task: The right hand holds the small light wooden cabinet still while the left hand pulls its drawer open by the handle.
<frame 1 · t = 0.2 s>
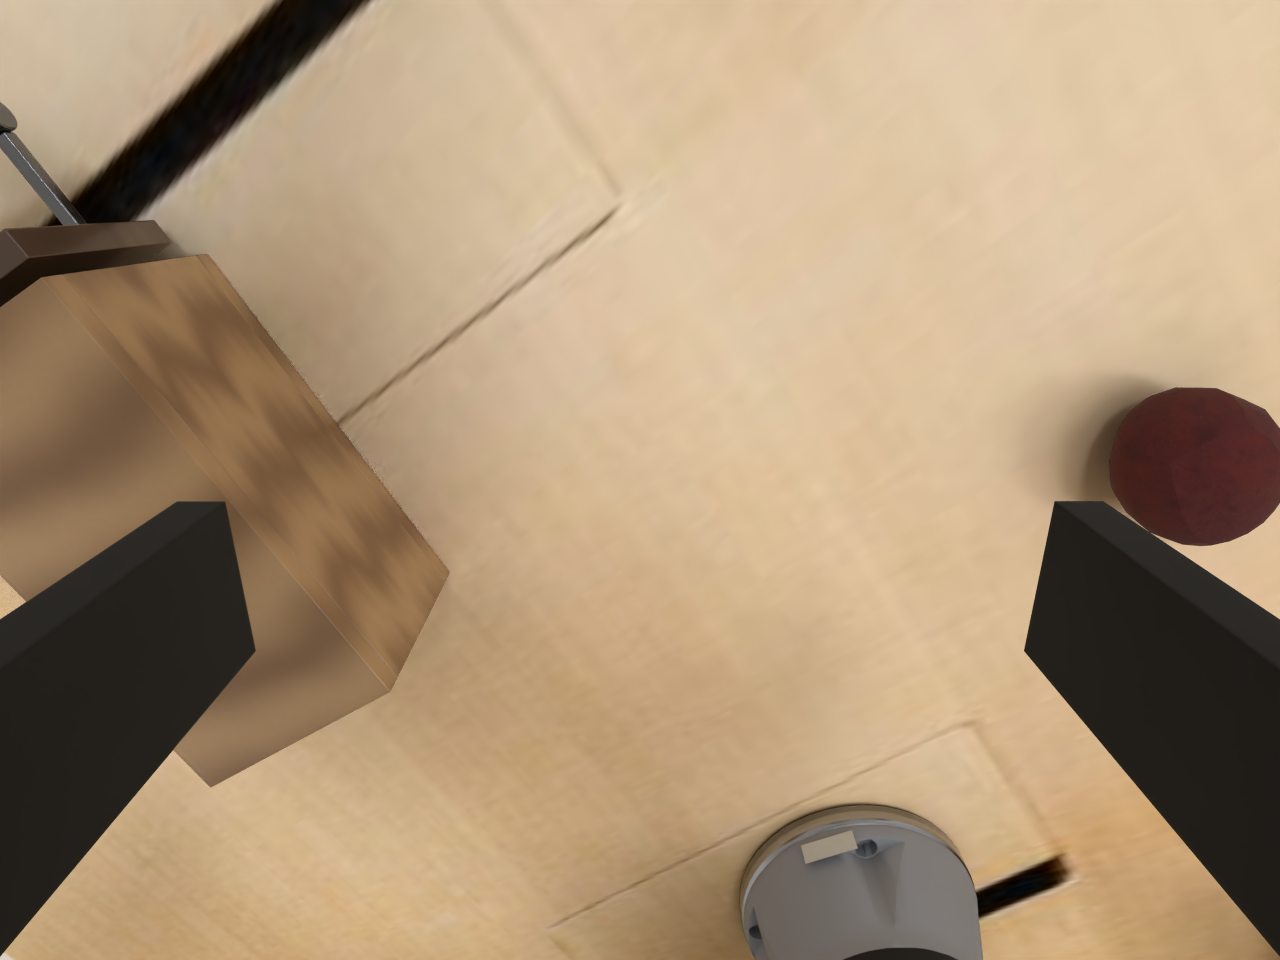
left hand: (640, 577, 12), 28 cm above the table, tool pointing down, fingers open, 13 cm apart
cabinet: (263, 471, 41), on the table
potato: (1148, 440, 41), on the table
drawer: (122, 409, 34), point 6 cm above the table, slide at 1.0 cm
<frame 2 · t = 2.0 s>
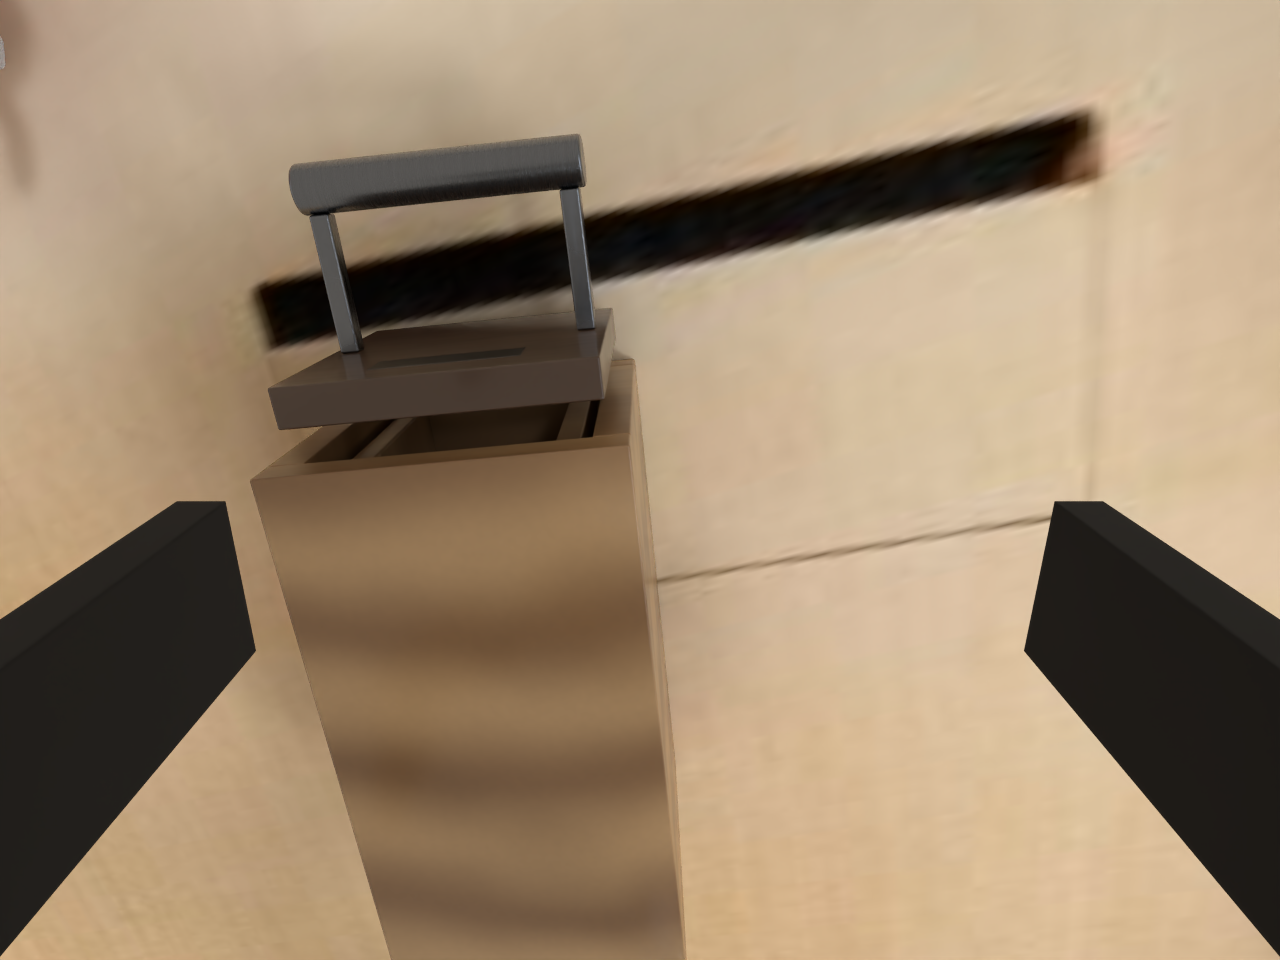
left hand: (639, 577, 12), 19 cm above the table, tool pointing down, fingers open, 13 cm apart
cabinet: (542, 592, 34), on the table
drawer: (500, 526, 27), point 6 cm above the table, slide at 1.0 cm
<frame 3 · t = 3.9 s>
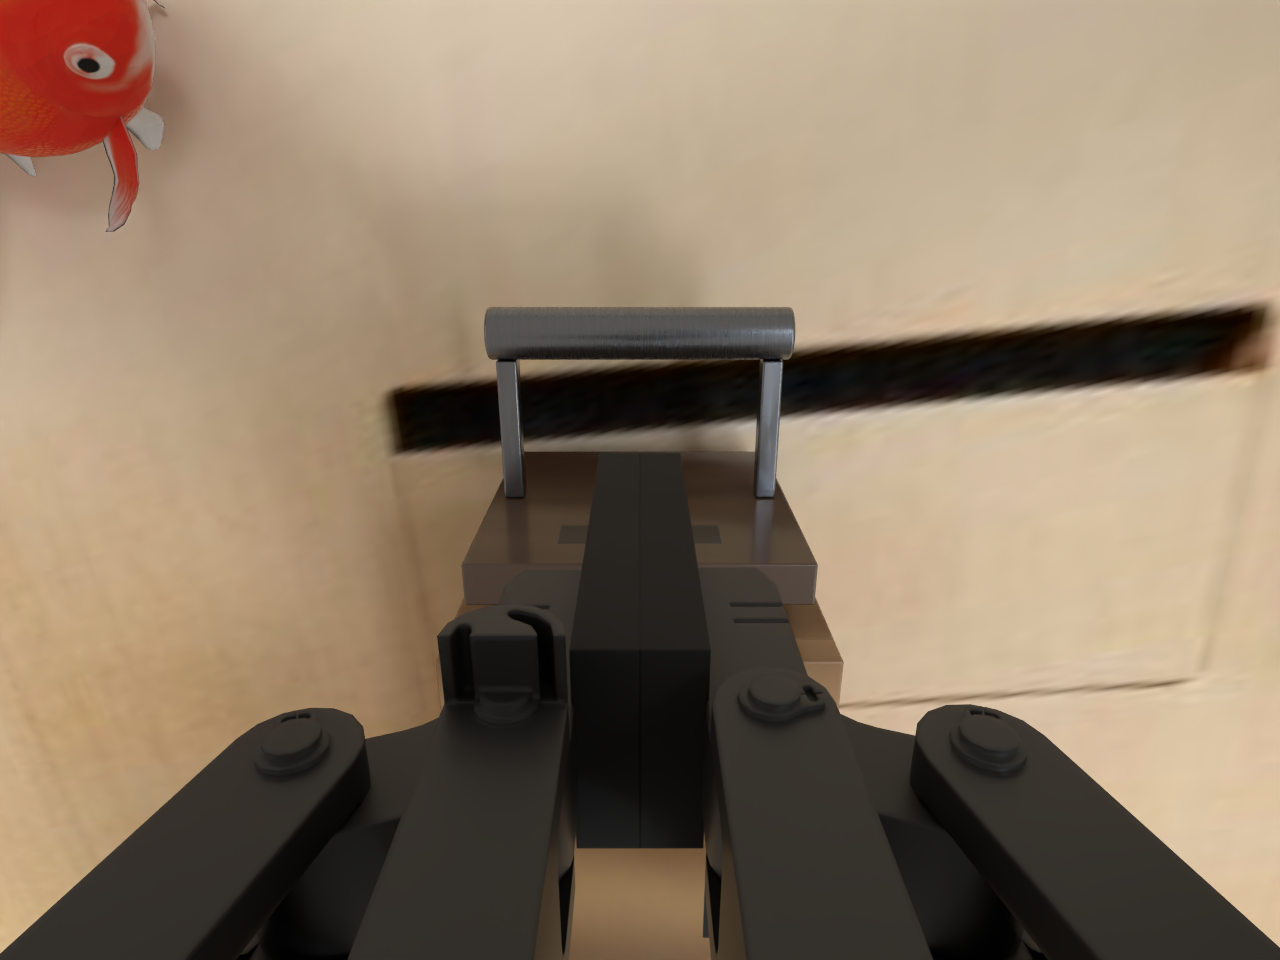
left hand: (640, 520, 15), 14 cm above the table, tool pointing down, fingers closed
fish: (33, 126, 25), on the table
cabinet: (639, 714, 33), on the table, touching right hand
drawer: (639, 678, 26), point 6 cm above the table, slide at 1.0 cm
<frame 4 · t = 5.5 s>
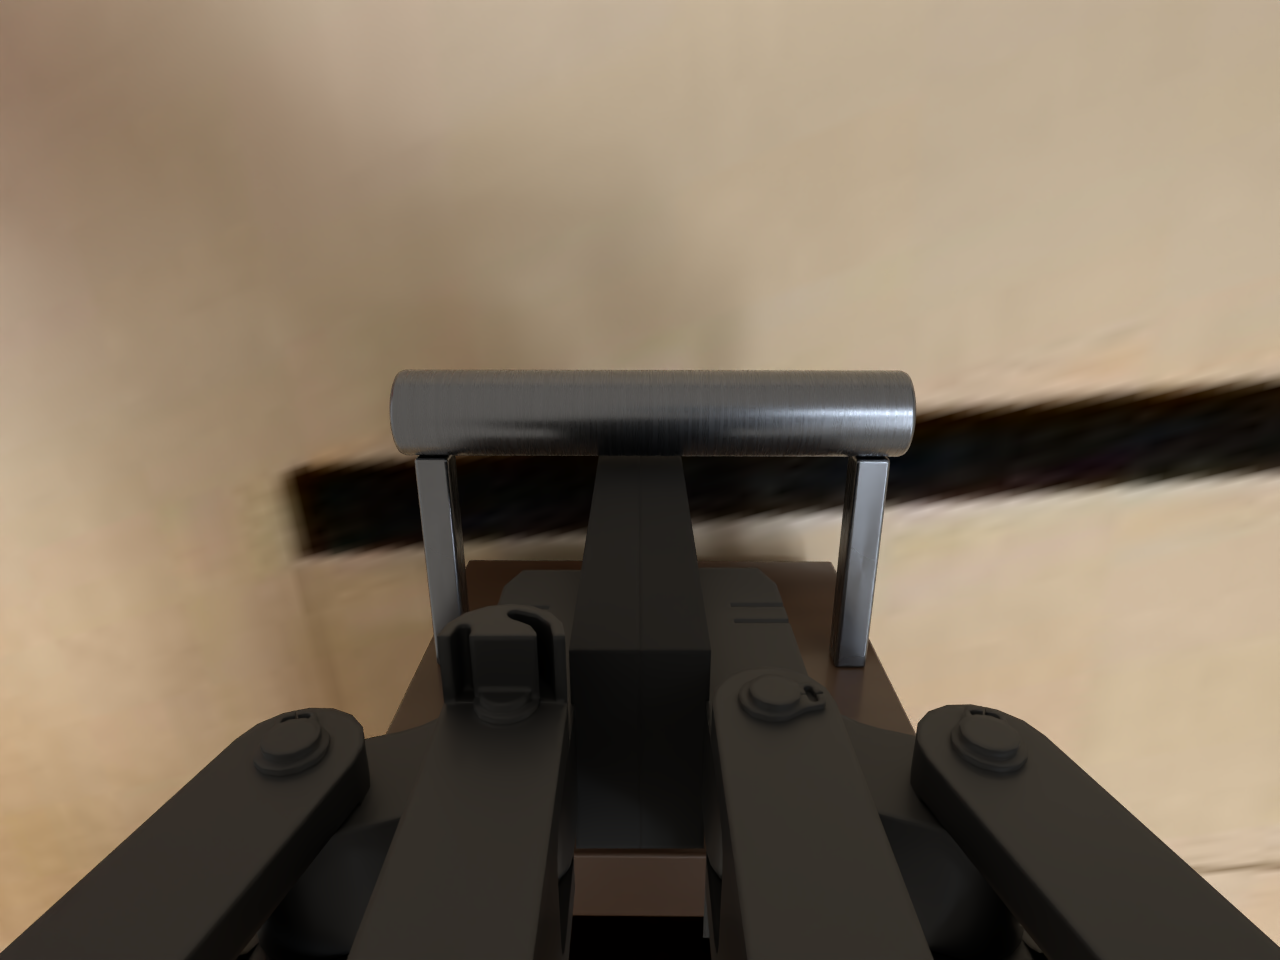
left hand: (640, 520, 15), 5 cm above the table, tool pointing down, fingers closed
drawer: (649, 914, 17), point 6 cm above the table, slide at 1.1 cm, touching left hand
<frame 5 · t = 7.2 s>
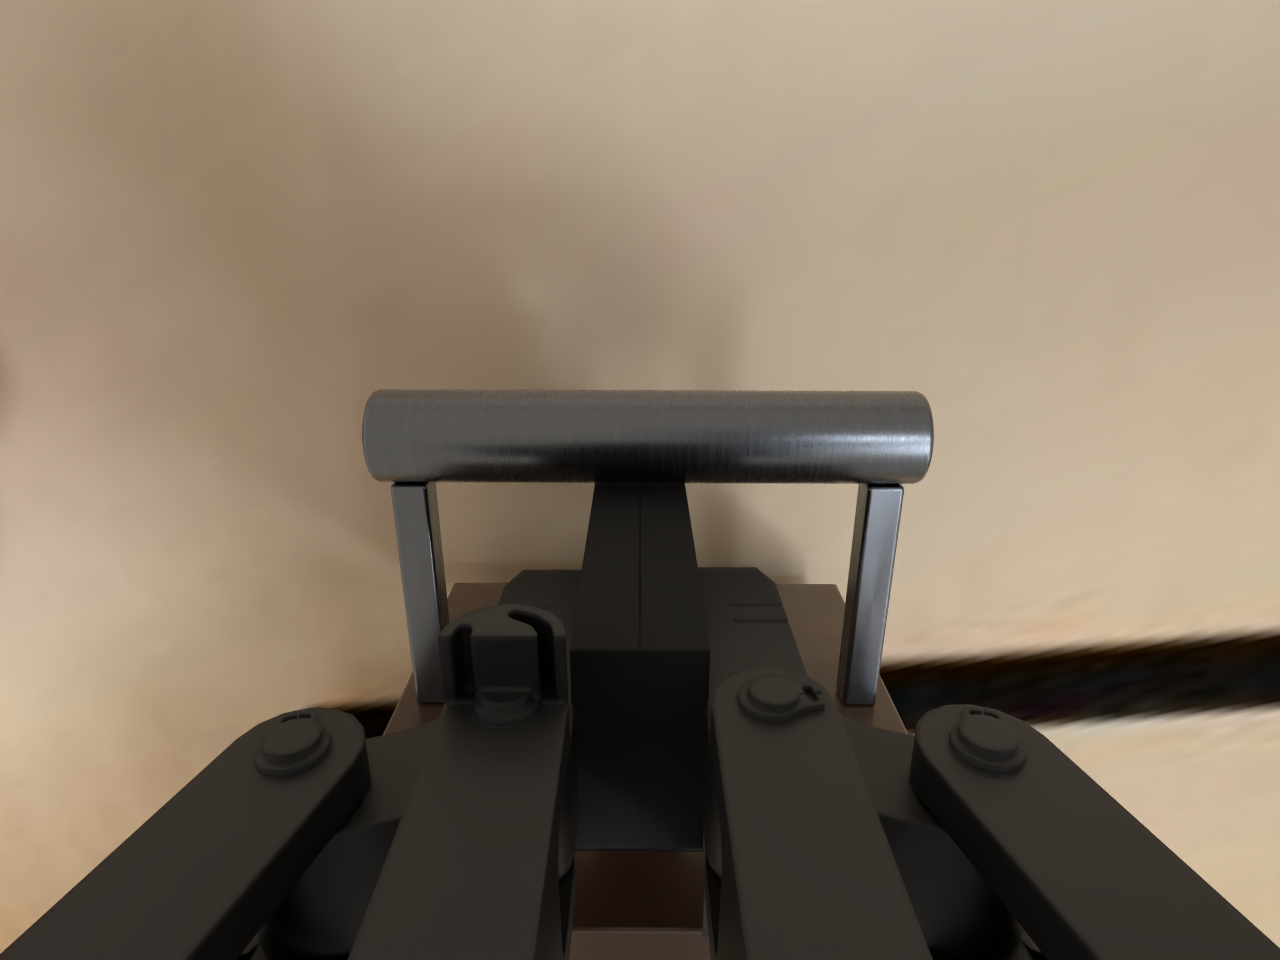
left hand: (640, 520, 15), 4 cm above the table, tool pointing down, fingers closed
drawer: (644, 959, 16), point 6 cm above the table, slide at 7.4 cm, touching left hand
when the right hand's fingers open (6 cm above the table, at t = 9.0 s): cabinet stays where it is, on the table.
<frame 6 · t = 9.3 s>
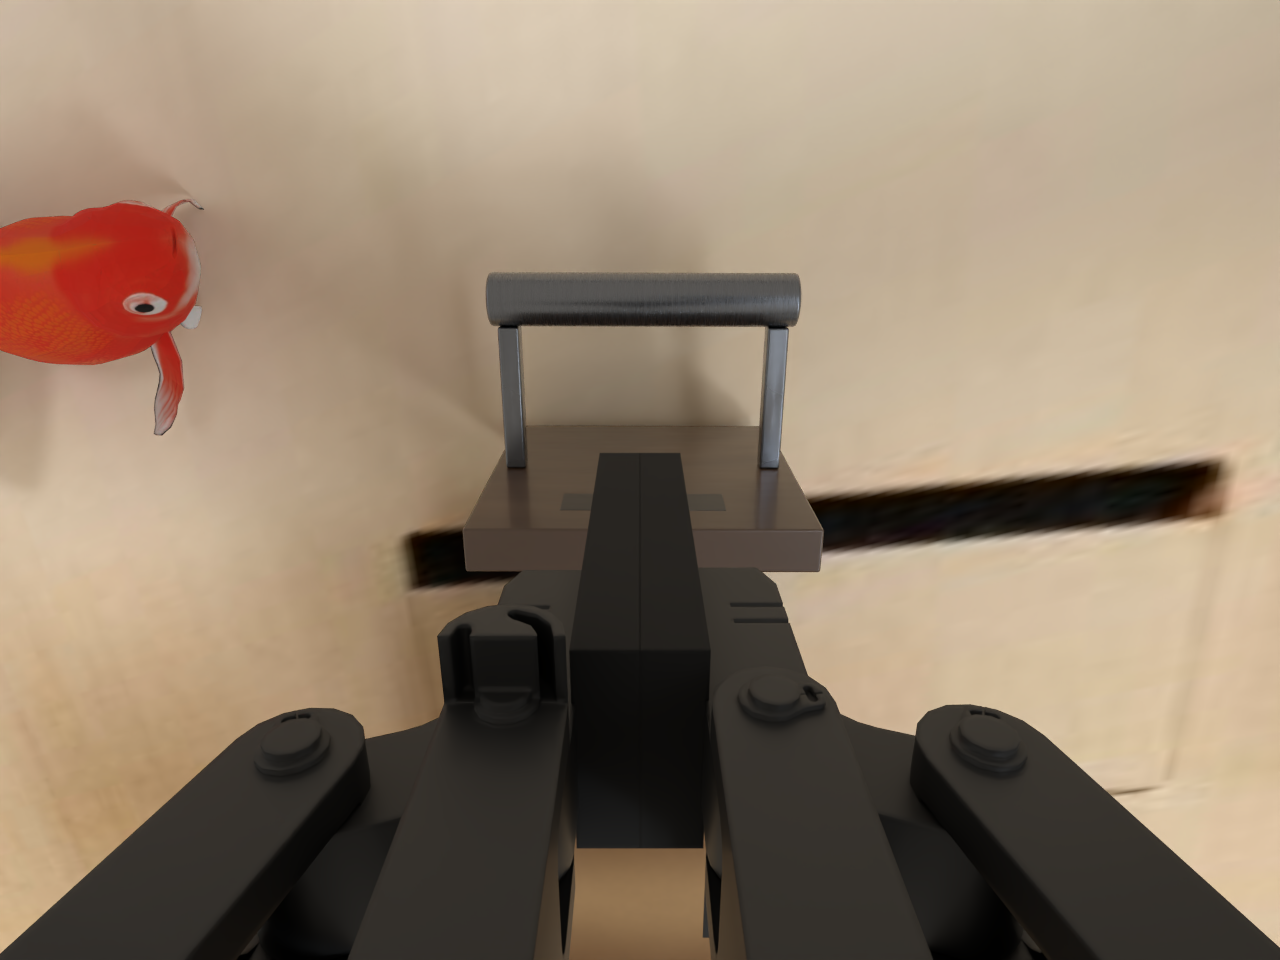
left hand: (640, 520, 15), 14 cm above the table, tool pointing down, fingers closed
fish: (80, 307, 27), on the table
cabinet: (640, 812, 35), on the table
drawer: (641, 652, 26), point 6 cm above the table, slide at 7.4 cm
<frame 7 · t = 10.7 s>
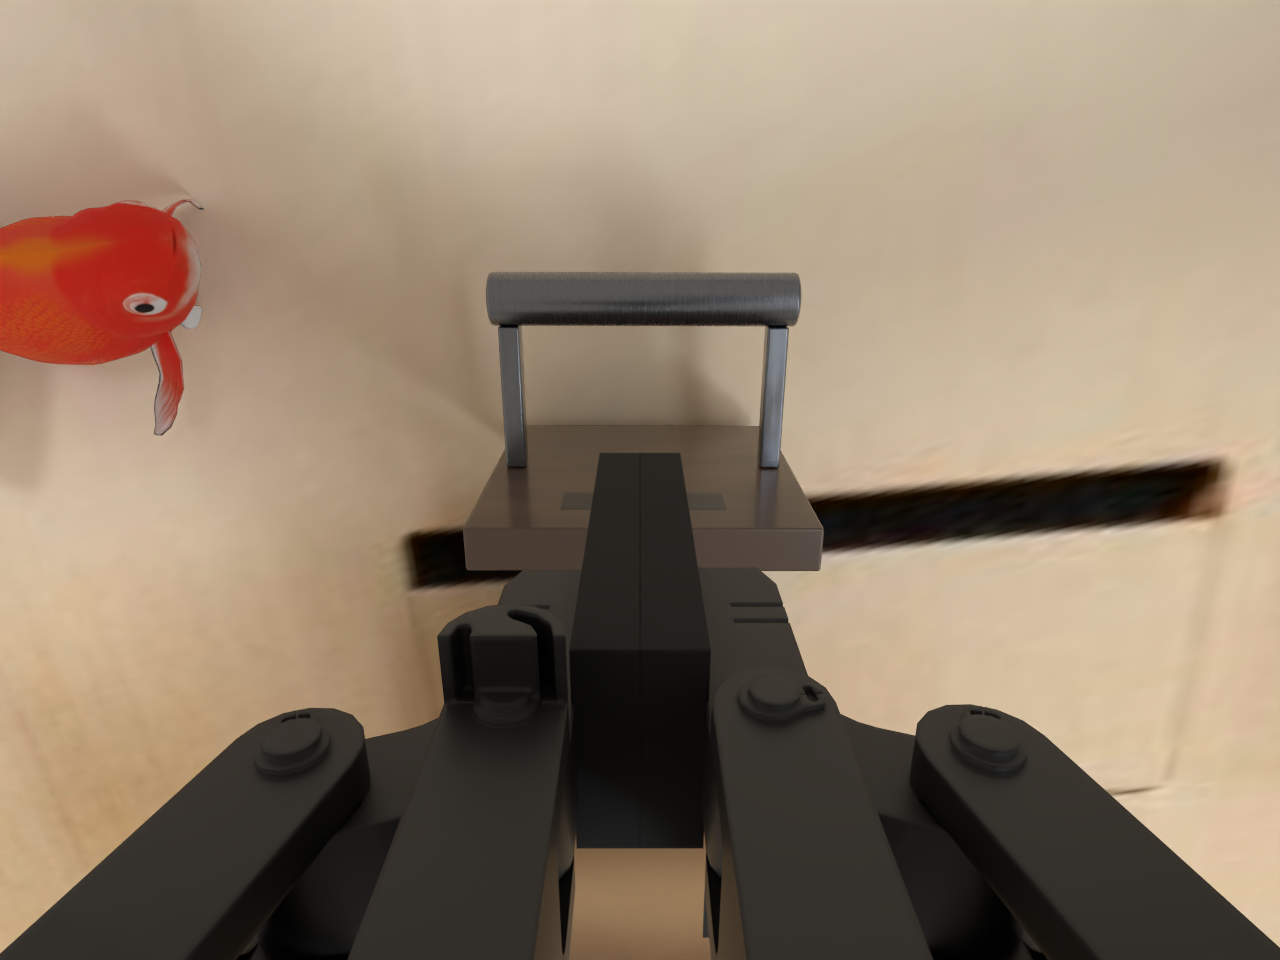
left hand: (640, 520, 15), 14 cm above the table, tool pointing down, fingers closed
fish: (80, 307, 27), on the table
cabinet: (640, 812, 35), on the table
drawer: (642, 652, 26), point 6 cm above the table, slide at 7.4 cm
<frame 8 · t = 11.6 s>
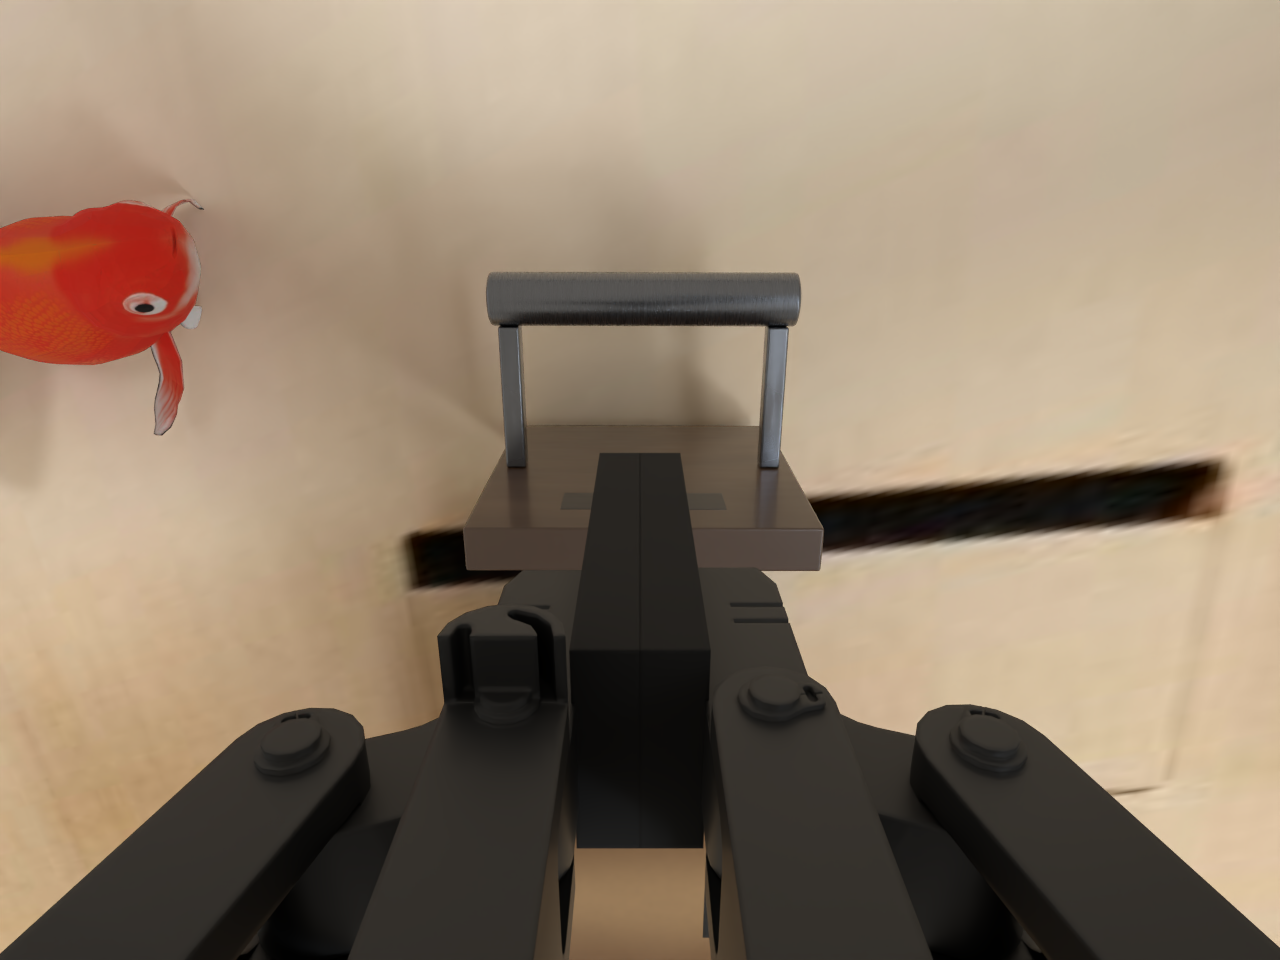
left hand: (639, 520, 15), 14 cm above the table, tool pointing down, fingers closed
fish: (80, 307, 27), on the table
cabinet: (640, 812, 35), on the table
drawer: (642, 652, 26), point 6 cm above the table, slide at 7.4 cm
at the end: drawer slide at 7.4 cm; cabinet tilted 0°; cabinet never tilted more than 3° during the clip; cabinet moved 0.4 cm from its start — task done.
